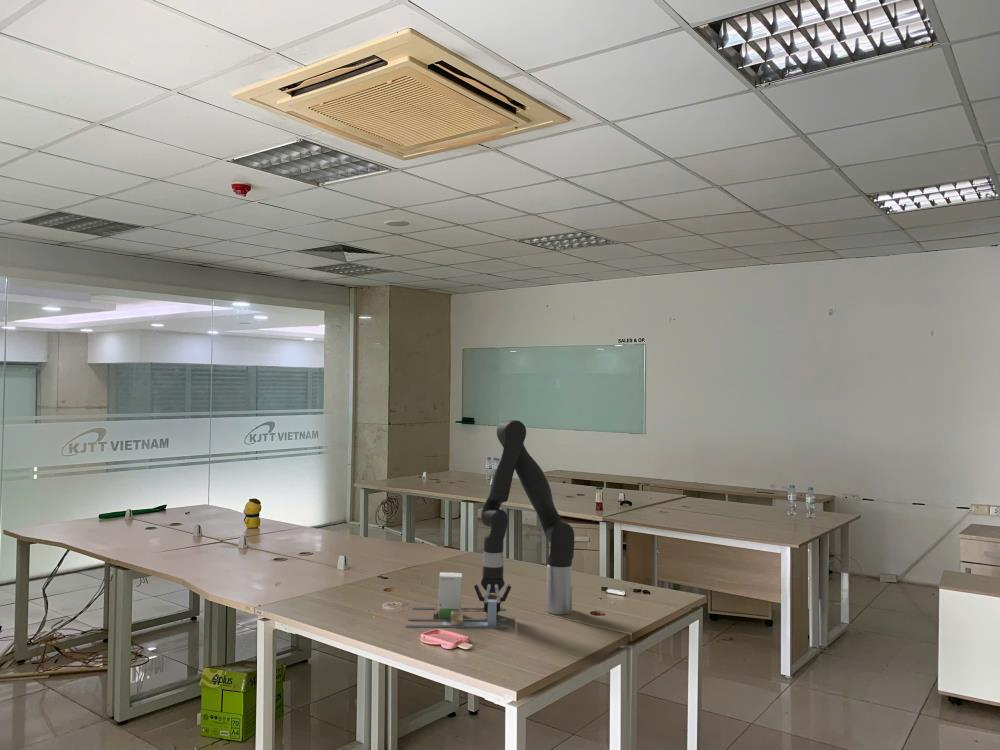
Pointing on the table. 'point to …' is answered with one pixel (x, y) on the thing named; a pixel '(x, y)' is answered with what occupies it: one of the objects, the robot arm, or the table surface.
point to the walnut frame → (491, 597)
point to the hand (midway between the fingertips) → (491, 612)
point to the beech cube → (457, 617)
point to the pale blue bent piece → (491, 616)
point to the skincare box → (449, 593)
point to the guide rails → (455, 625)
